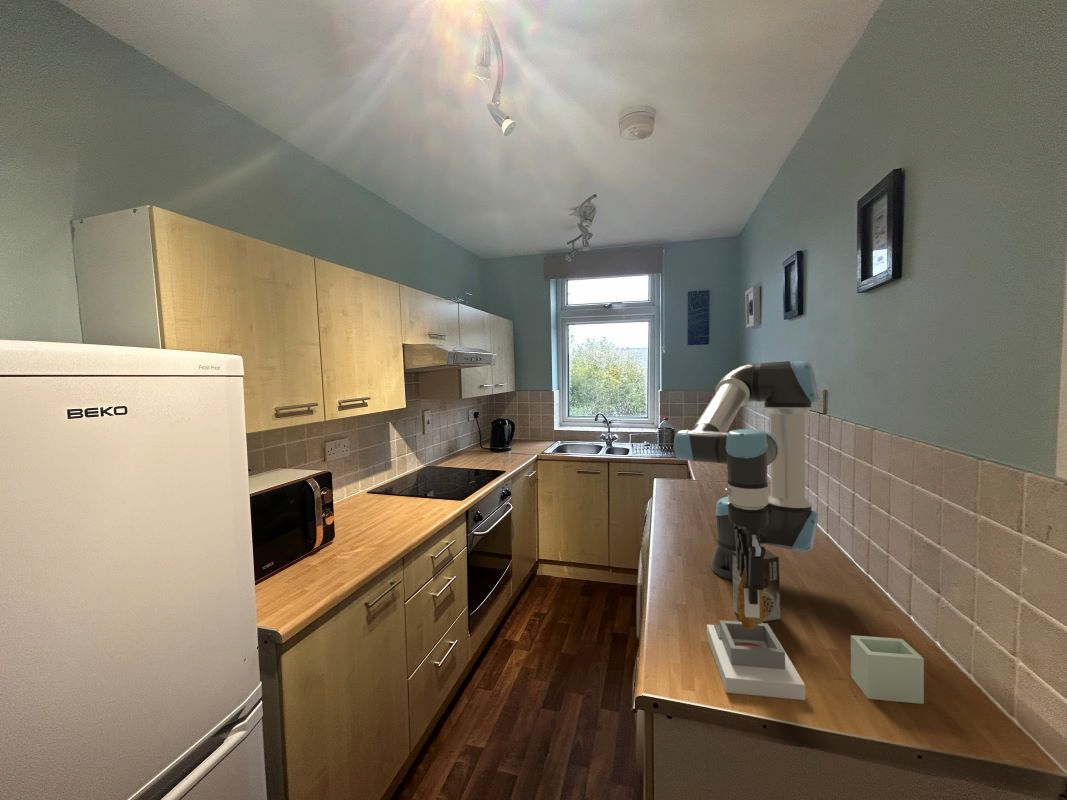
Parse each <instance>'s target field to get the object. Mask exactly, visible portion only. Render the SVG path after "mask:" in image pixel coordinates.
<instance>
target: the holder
mask: <svg viewBox="0 0 1067 800" xmlns="http://www.w3.org/2000/svg"><path fill="white" fill-rule="evenodd" d="M850 677H851V679H853V681H854V682H855V683H856V685H857V687H859V689H860V690H861V691H862V692H863V695H864V696H865V697H866V698H867V699H868V700H881V701H887V702H897V703H898V702H900V703H908V704H909V703H910V704H920V705H924V703H925V691H924V690H925V688H924V687H925V685H924V684H925V659H924V657H923V656H922V655H921V654H919V653H918V652H917V650H915V649H914V648H913V647H912V646H911V645H909V643H908V642H906V640H905V639H903V638H898V637H896V638H895V637H882V636H881V637H880V636H867V635H854V634H851V635H850Z"/></svg>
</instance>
